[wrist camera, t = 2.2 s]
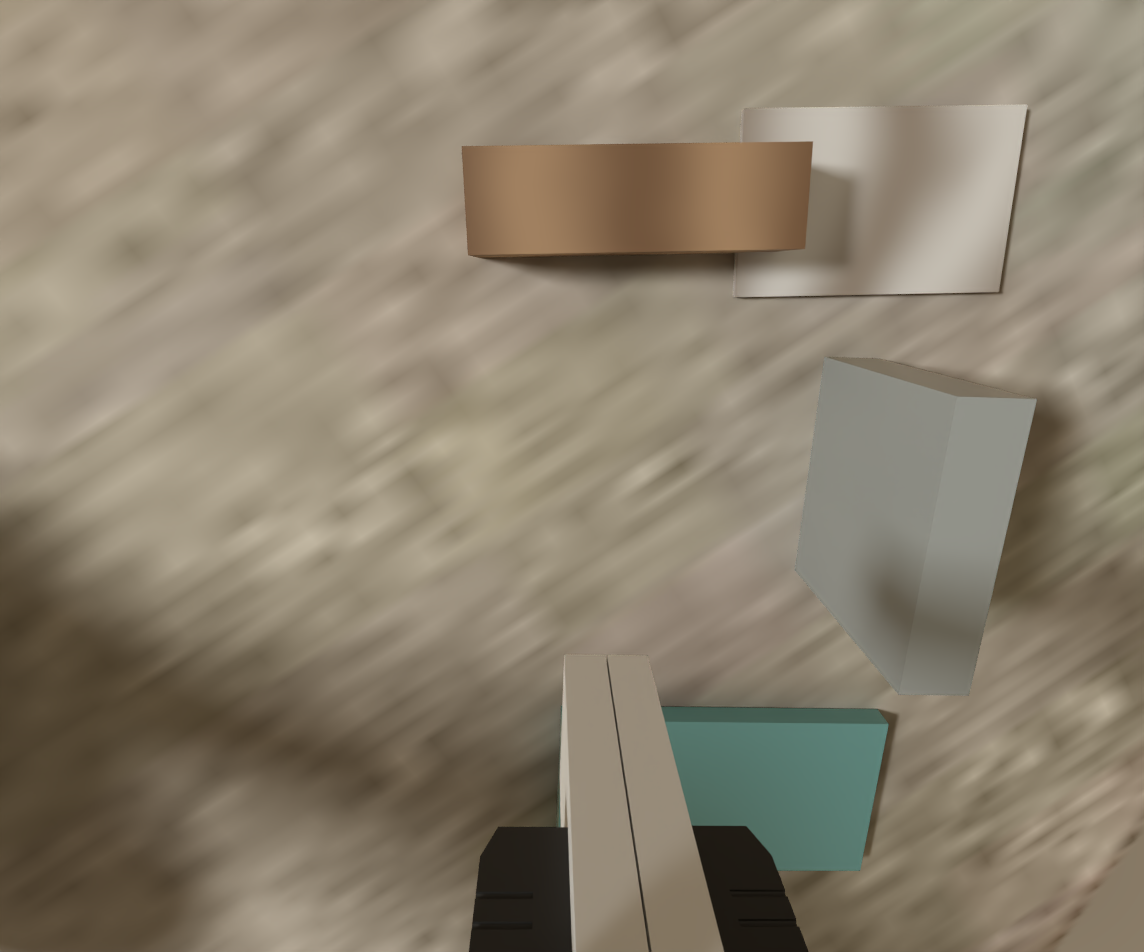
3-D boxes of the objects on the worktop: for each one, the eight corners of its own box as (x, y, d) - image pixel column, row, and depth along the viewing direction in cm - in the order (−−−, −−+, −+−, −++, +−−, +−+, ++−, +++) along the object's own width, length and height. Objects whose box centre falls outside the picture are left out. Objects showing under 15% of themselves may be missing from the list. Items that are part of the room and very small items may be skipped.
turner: (481, 301, 28) (471, 306, 25) (471, 115, 27) (458, 88, 23) (989, 291, 29) (1056, 294, 25) (1017, 108, 27) (1094, 81, 23)
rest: (555, 851, 37) (556, 887, 34) (561, 705, 34) (561, 734, 32) (850, 852, 37) (868, 887, 35) (877, 709, 35) (898, 737, 33)
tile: (794, 569, 32) (898, 694, 23) (824, 356, 30) (956, 396, 20) (850, 571, 32) (977, 695, 23) (885, 358, 30) (1047, 399, 20)
